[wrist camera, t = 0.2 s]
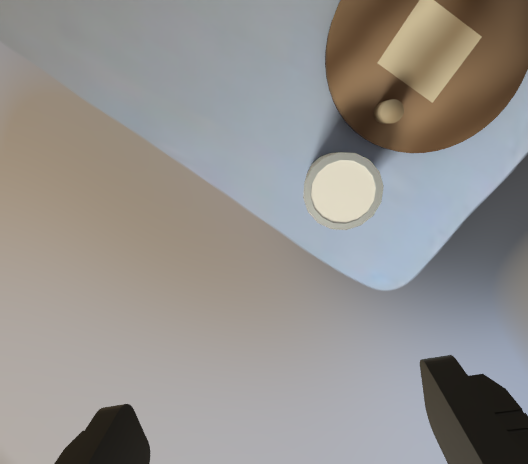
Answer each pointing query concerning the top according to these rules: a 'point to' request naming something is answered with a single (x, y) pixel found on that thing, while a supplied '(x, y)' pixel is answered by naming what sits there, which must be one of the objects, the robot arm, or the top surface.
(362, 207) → the white cup
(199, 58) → the top surface
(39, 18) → the top surface
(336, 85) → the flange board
